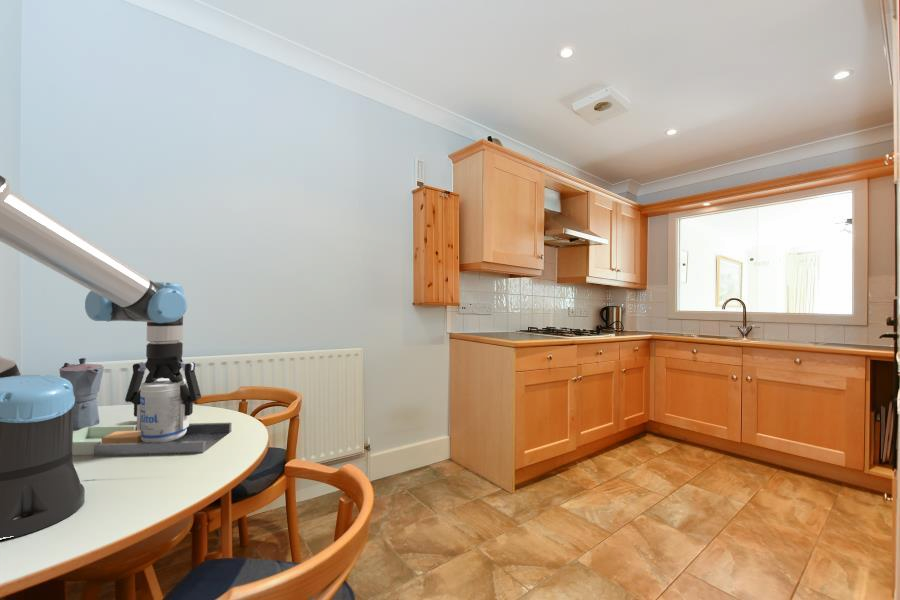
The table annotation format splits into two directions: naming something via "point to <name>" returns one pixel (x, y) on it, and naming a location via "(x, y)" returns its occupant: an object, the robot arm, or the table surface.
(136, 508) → the table surface
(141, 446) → the tray
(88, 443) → the tray
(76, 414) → the moka pot
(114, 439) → the chip
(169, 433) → the supplement tub
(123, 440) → the orange flat block
